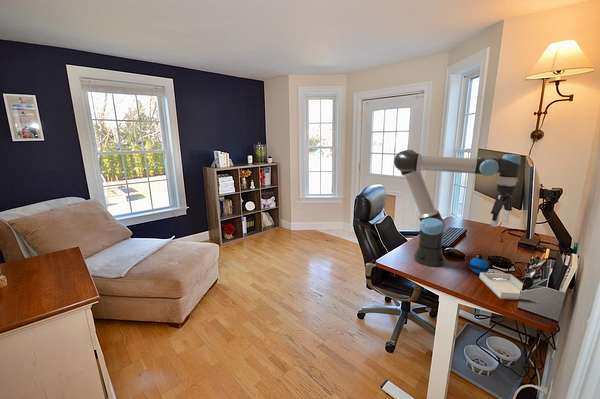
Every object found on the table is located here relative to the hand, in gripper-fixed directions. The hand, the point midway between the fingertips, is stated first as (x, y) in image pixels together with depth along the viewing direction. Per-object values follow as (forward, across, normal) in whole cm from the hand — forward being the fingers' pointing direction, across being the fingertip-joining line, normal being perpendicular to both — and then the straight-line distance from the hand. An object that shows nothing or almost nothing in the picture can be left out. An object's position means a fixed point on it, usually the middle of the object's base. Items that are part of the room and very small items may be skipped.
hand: (499, 224), depth 140 cm
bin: (+22, -25, -14) cm, 36 cm away
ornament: (+23, -19, -1) cm, 30 cm away
